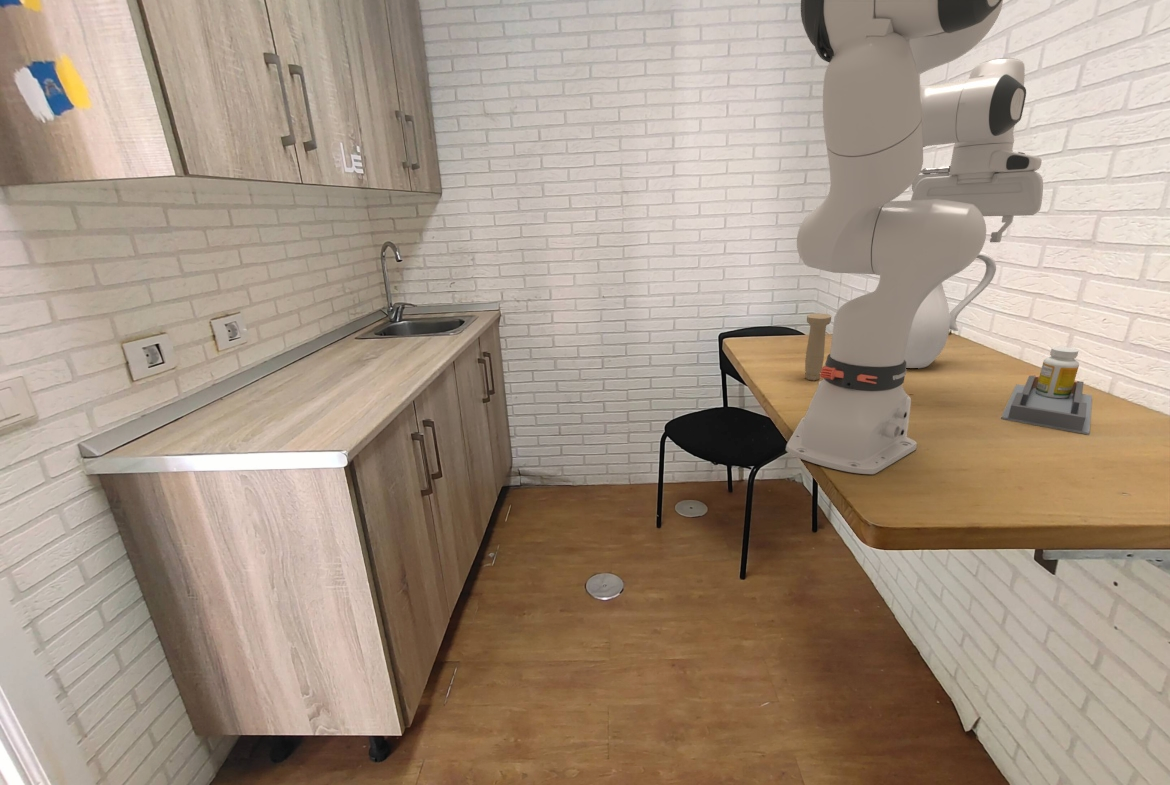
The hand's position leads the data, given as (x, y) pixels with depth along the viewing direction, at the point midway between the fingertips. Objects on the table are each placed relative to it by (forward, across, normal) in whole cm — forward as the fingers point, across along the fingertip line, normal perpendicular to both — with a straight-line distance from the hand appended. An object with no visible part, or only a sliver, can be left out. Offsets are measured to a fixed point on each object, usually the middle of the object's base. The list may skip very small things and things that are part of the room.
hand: (964, 242), depth 100 cm
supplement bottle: (+31, +18, +12) cm, 38 cm away
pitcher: (+31, -8, +23) cm, 40 cm away
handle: (+31, -24, -4) cm, 40 cm away
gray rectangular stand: (+31, +18, +4) cm, 36 cm away
